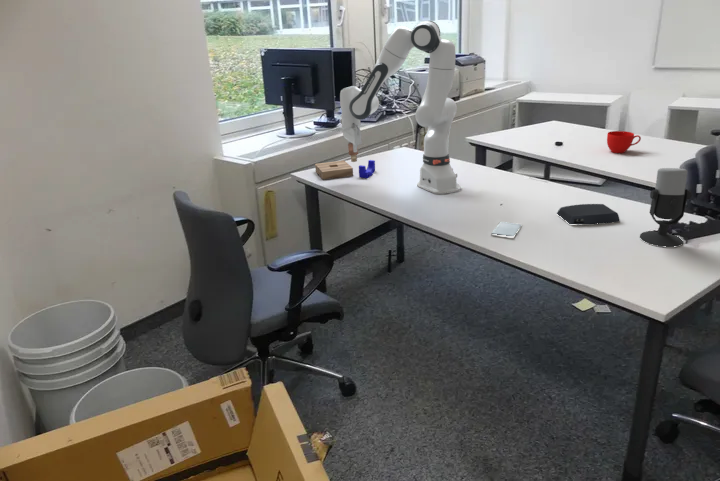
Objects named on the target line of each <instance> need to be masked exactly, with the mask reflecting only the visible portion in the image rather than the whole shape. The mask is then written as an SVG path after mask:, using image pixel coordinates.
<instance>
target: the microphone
mask: <svg viewBox="0 0 720 481" xmlns="http://www.w3.org/2000/svg"><path fill="white" fill-rule="evenodd" d="M687 179H688V170H687V169H686V168H675V167H664V168H663V167H662V168H659V169H657V173H656V183H655V189H653V190H650V193H649V197H650V199H651V204H650V207H649V214H650V216H651V218H652V220H653V221H654V222H655V223H656V224H657V225H659V226H658V230H657V231H658V232H654V231H655V230H649V231H643V232H641V233H640V234H639V239H640V238H641V239H642V240H643V241H645V242H647V243H649V244H648V245H650V244H653V245H658V246H666V247H674V246H679V245H681V244H682V243H683V244H684V241H682V240H683V239H682V238H681V237H680V236H678V235H676V234H674V235H672V234H673V233H671V234H669V233H670V232H668V231H669V230H668V229H669V227H670V226H675V225H677V224H678V223H679V222H680V220H681V219H682V218H684V214H685V210H686V206H687V202H688V200H691V199H692V197H693V194H692V191H691V190H688V189H686V185H687ZM656 218H658V219H659V220H657V219H656ZM660 219H662V220H660ZM675 235H676V236H675ZM677 236H678V237H677ZM679 237H680V238H681V239H682V240H681V239H680V238H679ZM641 239H640V240H641ZM642 240H641V241H642ZM643 241H642V242H643ZM645 242H644V243H645ZM647 243H646V244H647ZM683 244H682V245H683ZM653 245H652V246H653ZM682 245H681V246H682ZM679 247H680V246H679Z"/></svg>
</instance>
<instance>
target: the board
mask: <svg viewBox="0 0 720 481" xmlns="http://www.w3.org/2000/svg"><path fill="white" fill-rule="evenodd" d="M314 166H315V172H316V174H319V175H320V176H319V175H318V176H319V177H320V178H321V179H322V180H323V179H324V180H330V179H329V178H331V179H337V178H338V179H339V178H344V177H352V176H354V168H353V167H352V166H351V165H350V164H349V163H348V162H346V160H337V161H328V162H322V163H321V162H319V163H315V165H314Z"/></svg>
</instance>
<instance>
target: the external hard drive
mask: <svg viewBox="0 0 720 481" xmlns="http://www.w3.org/2000/svg"><path fill="white" fill-rule="evenodd" d="M556 214H558V215H559V216H561V217H562V218H563V219H564V220H566V221H567V222H568V223H569V224H594V225H600V224H599V223H605V224H612V222H614V223H620V222H621V220H620V216H619V213H618V212H616V211H615V210H613V209H611V208H610V207H609V206H607V205H605V204H604V203H582V204H571V205H566V206H562V207H559V209H558V211H557V212H556ZM559 216H558V217H559ZM563 219H562V220H563ZM564 220H563V221H564ZM568 223H567V224H568ZM597 223H598V224H597ZM569 224H568V225H569Z"/></svg>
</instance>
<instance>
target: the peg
mask: <svg viewBox="0 0 720 481" xmlns="http://www.w3.org/2000/svg"><path fill="white" fill-rule="evenodd" d="M347 146H348V147H347V148H348V150H347V151H348V156H350V160H351V161H350V162H352V163H355V162H358V157H357V155H359V148H358V147H357V152H353V143H349V144H347Z"/></svg>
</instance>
